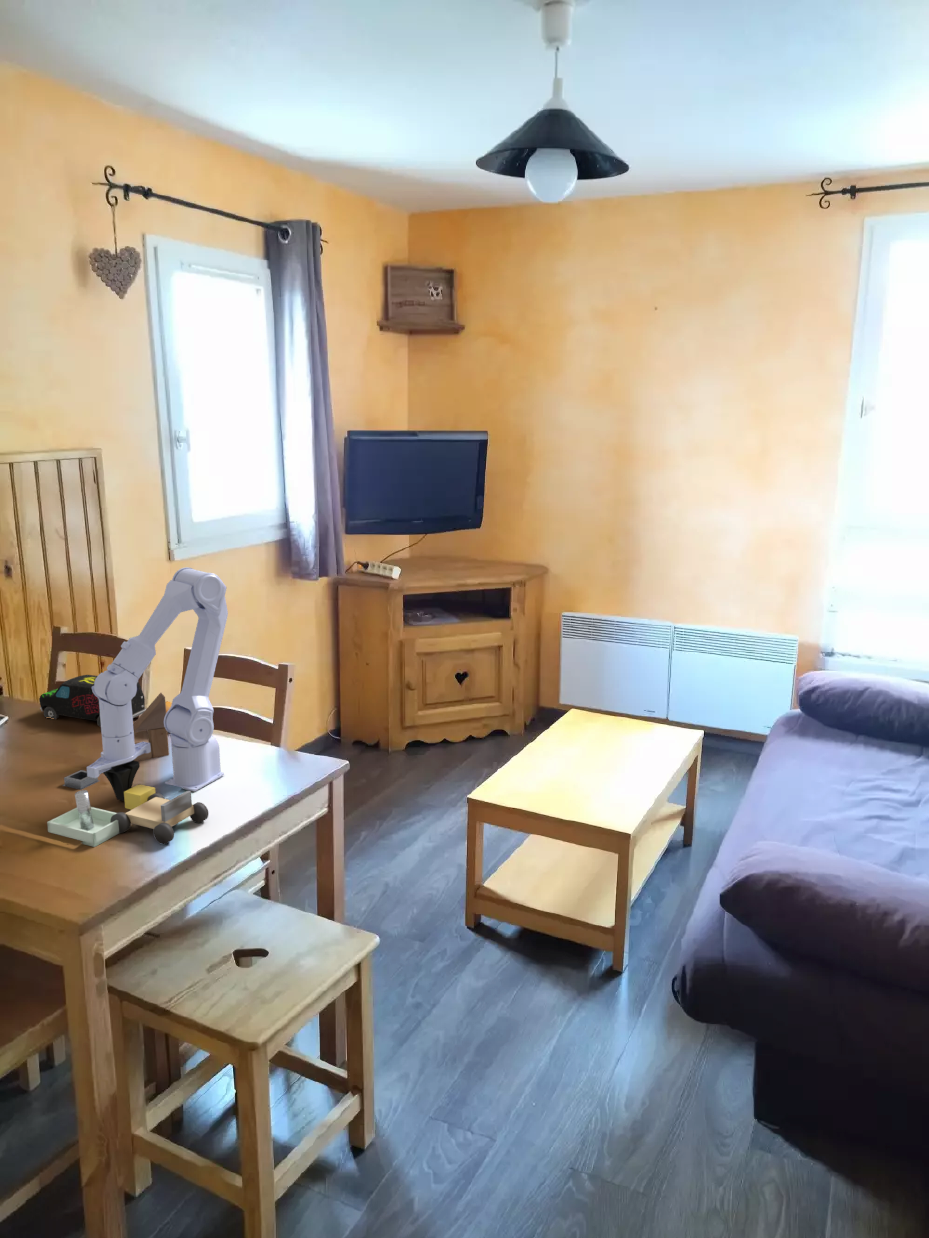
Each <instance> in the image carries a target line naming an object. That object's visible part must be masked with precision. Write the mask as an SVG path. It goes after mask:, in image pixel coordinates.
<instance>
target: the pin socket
mask: <svg viewBox="0 0 929 1238" xmlns="http://www.w3.org/2000/svg"><path fill="white" fill-rule="evenodd" d="M98 778H99V777H97V778H92V777H88V776H87V770H83V769H81V770H78V771H76V772H74V773H72V774H69V775H67V776H65V777H63V780H64V784H62V787H67V788H72V789H74V790H75V789H76V790H79V791H81V790H85V789H86V788H88V787H90V786H92V785H94V784H96V783H98V782H101V780H99V779H98Z"/></svg>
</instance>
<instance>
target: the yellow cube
mask: <svg viewBox="0 0 929 1238" xmlns="http://www.w3.org/2000/svg"><path fill="white" fill-rule="evenodd" d="M154 793H157V792H156V787H153V786H149V785H144V784H141V783H139V784H136V785H135V786H132V788H131V789H129V790H127V791H125V792H124V800H125V801H124V808H125V809H128V810H132V809H134V808H136V807H138V806H140V805H142V804H143V803H145V802H147V799H148V797H149V796H151V795H152V794H154Z"/></svg>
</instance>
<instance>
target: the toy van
mask: <svg viewBox="0 0 929 1238" xmlns="http://www.w3.org/2000/svg"><path fill="white" fill-rule="evenodd" d="M97 676H98V675H94V674H93V675H92V674H83V675H78V676H76V677H73V678H70V679H68V680H66V681H64V682H62V683H61V684H60V686H59V687H58V688H56V689H55V688H54V689H52V690H50V691H47V692H44V693H41V694H40V695H39V698H38V700H39V705H40V707H39V709H40V712H43V716H44V718H45V717H51V718H54V719H55V720H58V719H57V718H59V717H60V716H64V717H71V718H77V719H81V720H82V719H83V720H88V721H94V722H96V723H97V726H98V727H100V728H101V721H100V707H99V699H98V697H96V696H95V695H94V693H93V691H92V686H94V682H95V679H96V678H97ZM142 689H143V688H142V686H141V683H139V681H138V682H137V692H136V695H135V696H134V697H133V698H132V699H131V705H132V716H133V719H134V718H136V717H138V716H141V715H142V713H143V712H144V711H145V710H146V709H147V708H146V706H145V701H146V699H145V694H144V691H143V690H142Z"/></svg>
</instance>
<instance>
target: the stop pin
mask: <svg viewBox="0 0 929 1238" xmlns="http://www.w3.org/2000/svg"><path fill="white" fill-rule="evenodd" d="M74 798H75V803H76V808H77V810H78V815H79V821H80V826H81V829H83V830H87V831H88V830H91V829H92V828H94V823H93V818H92V812H91V807H92V806H91V802H90V797H89V791H88V790H87V789H82V790H79V791H76V792H75V793H74Z"/></svg>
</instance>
